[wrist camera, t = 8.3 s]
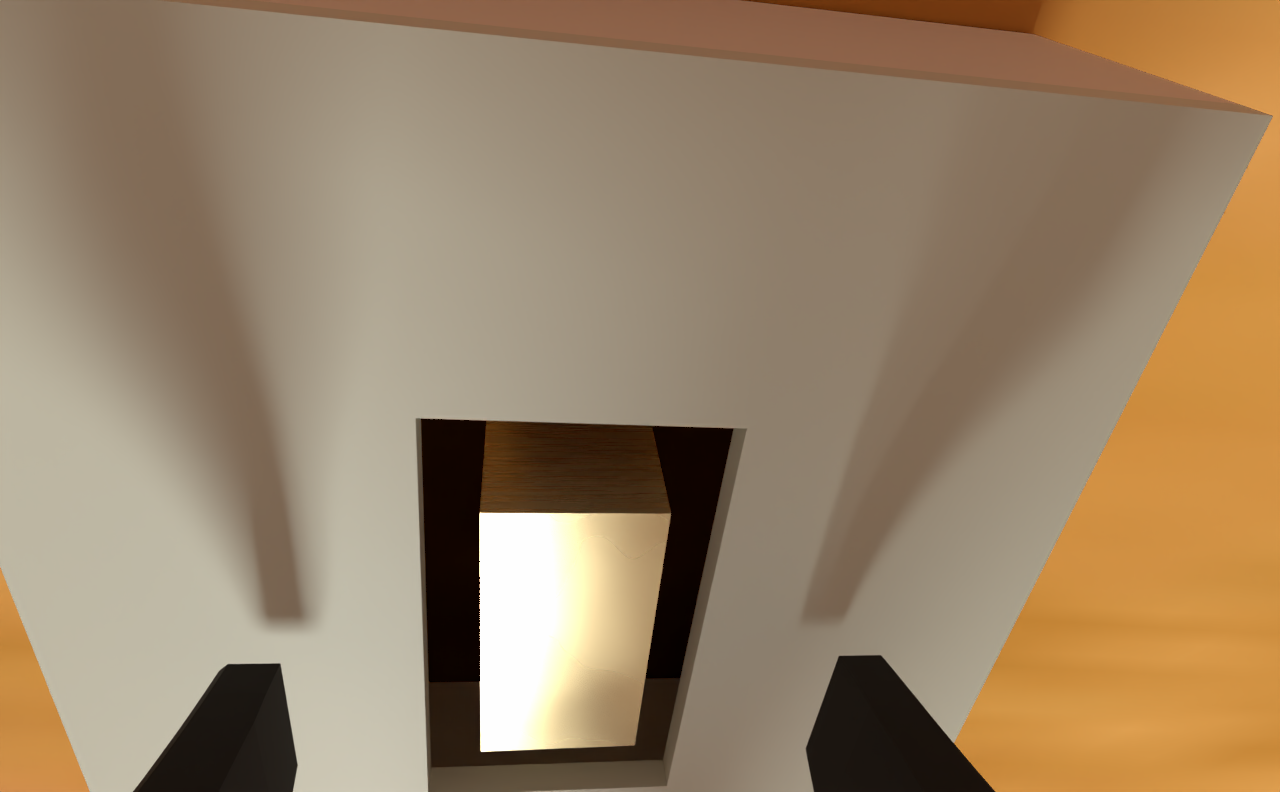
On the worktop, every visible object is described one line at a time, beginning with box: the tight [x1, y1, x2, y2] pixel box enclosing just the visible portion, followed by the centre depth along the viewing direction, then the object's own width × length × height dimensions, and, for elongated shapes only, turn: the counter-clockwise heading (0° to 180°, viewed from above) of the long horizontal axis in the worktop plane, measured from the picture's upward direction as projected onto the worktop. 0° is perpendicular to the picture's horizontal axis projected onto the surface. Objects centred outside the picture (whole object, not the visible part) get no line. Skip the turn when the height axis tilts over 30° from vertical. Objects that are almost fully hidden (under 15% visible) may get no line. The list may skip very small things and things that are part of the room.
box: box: [0, 0, 1273, 792], centre depth 14 cm, size 16×14×5 cm
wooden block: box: [480, 420, 671, 752], centre depth 14 cm, size 5×2×5 cm, turn 174°
